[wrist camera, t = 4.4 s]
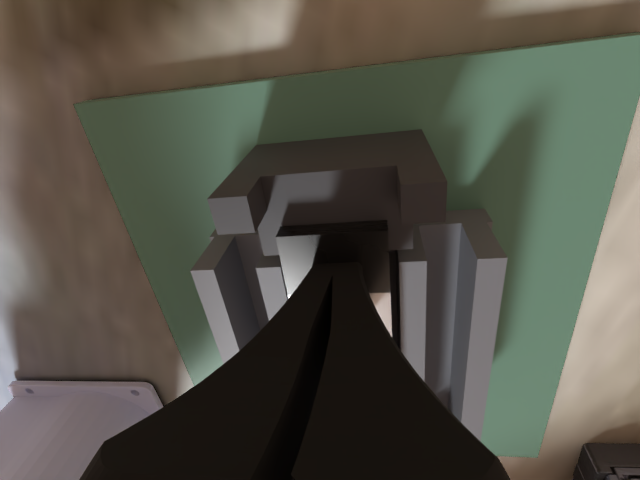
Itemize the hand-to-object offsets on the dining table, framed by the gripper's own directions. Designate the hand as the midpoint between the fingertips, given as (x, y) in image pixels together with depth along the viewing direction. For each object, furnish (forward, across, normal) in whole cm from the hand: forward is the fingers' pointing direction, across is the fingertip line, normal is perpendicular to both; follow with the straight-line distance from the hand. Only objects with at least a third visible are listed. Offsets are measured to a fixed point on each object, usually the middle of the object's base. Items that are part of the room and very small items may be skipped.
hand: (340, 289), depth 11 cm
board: (+5, 0, +5) cm, 7 cm away
